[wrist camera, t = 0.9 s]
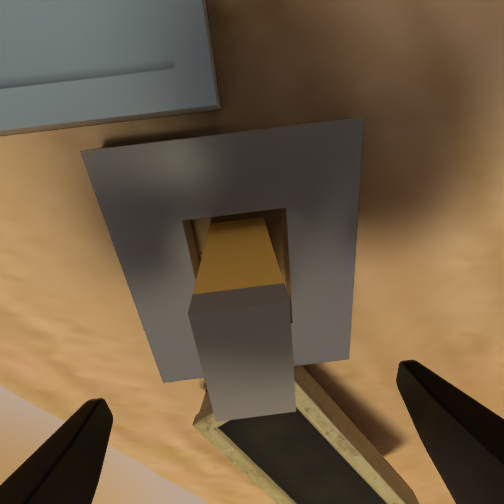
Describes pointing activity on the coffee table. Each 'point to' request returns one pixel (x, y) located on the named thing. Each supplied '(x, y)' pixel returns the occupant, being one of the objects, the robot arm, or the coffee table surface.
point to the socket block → (234, 202)
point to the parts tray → (103, 62)
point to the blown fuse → (243, 323)
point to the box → (306, 452)
